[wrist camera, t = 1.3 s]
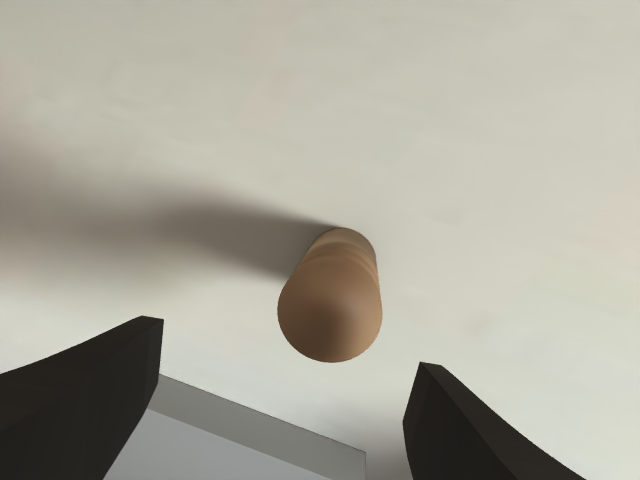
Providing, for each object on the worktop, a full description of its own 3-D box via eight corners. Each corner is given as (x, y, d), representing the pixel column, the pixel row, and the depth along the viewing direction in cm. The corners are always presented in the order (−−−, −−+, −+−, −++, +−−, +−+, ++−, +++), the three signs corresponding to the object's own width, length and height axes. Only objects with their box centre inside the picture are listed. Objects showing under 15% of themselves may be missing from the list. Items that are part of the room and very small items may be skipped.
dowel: (386, 241, 22) (398, 283, 14) (362, 303, 22) (360, 377, 15) (320, 218, 22) (296, 246, 14) (299, 281, 23) (264, 341, 15)
